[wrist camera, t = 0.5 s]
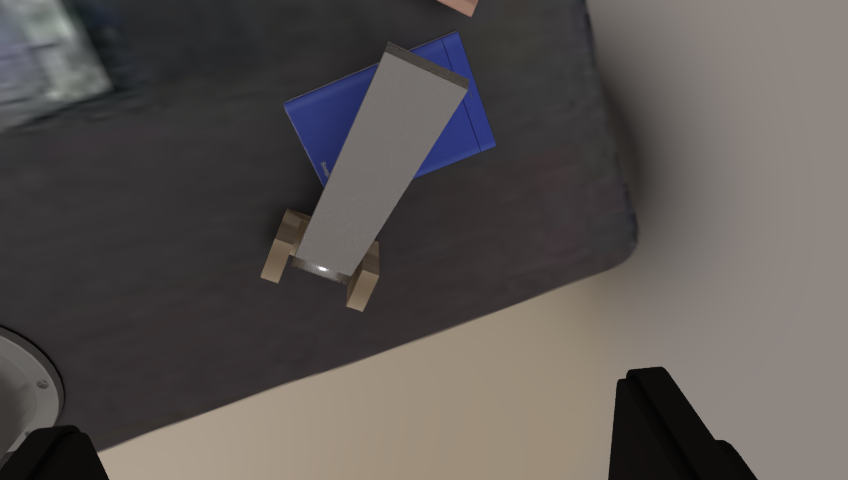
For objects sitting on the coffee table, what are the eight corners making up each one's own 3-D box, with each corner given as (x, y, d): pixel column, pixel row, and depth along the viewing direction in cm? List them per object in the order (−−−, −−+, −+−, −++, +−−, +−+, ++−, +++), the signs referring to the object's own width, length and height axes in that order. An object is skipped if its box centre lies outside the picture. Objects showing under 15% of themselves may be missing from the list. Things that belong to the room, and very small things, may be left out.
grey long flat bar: (348, 272, 39) (344, 288, 38) (294, 253, 38) (289, 269, 37) (470, 75, 25) (467, 94, 24) (389, 37, 24) (383, 55, 23)
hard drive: (334, 211, 39) (497, 147, 38) (281, 104, 36) (458, 30, 35) (336, 204, 41) (492, 141, 40) (285, 100, 37) (454, 29, 36)
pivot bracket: (363, 274, 43) (362, 311, 38) (274, 242, 41) (260, 277, 36) (378, 241, 42) (379, 276, 37) (287, 207, 40) (274, 238, 35)
